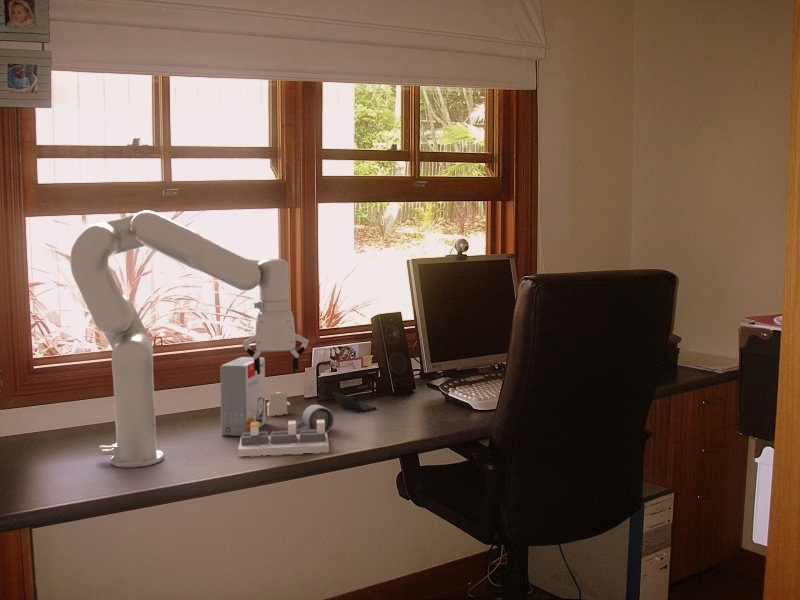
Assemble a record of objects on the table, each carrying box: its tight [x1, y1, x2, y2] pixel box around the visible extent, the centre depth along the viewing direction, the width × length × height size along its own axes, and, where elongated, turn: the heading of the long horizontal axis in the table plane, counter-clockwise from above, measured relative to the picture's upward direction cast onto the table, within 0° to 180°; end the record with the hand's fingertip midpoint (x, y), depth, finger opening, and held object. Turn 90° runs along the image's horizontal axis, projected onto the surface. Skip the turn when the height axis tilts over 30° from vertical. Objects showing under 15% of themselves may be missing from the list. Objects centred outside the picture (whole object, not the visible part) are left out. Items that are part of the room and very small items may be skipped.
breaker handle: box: [250, 422, 260, 436], centre depth 212 cm, size 2×4×3 cm, turn 8°
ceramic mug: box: [296, 404, 335, 434], centre depth 229 cm, size 11×8×8 cm
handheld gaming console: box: [332, 392, 377, 413], centre depth 256 cm, size 12×7×10 cm
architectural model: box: [265, 391, 291, 417], centre depth 250 cm, size 3×7×7 cm, turn 115°
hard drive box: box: [219, 356, 267, 437], centre depth 232 cm, size 16×8×20 cm, turn 168°
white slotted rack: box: [237, 420, 330, 458], centre depth 213 cm, size 23×12×7 cm, turn 98°
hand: (276, 372), depth 212 cm, fingers open, 8 cm apart
